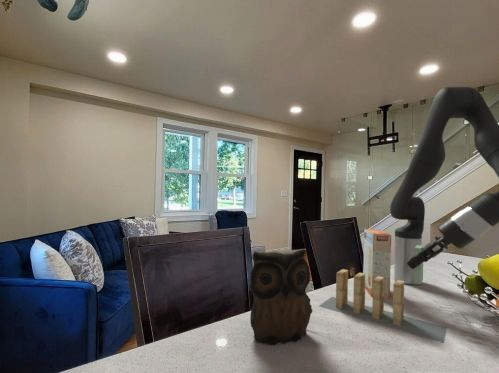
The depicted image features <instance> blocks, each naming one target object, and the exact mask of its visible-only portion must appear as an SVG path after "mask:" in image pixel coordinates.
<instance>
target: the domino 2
mask: <svg viewBox="0 0 499 373" xmlns="http://www.w3.org/2000/svg"><path fill="white" fill-rule="evenodd" d="M352 302H353V312H354V313H357V314H360V313H361V312H362V311H363V310H364V309H365V306H366V289H365V273H363V272H358V273H357V274H355V275H354V276H353V301H352Z"/></svg>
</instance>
